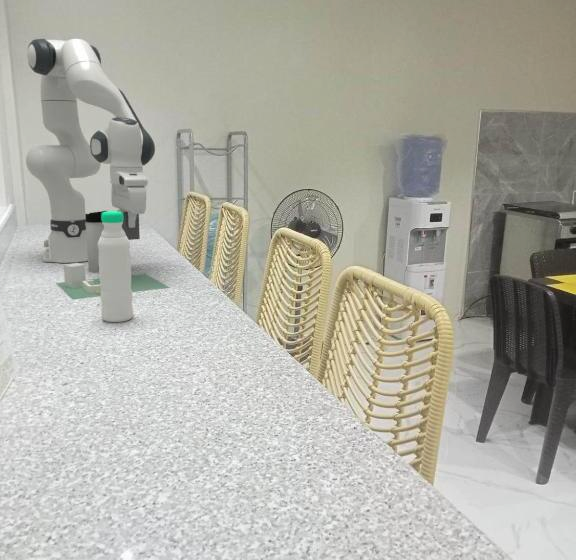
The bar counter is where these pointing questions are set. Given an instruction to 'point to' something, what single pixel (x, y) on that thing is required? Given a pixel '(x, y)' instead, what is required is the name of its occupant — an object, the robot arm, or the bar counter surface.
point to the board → (94, 288)
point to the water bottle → (115, 269)
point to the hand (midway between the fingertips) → (128, 226)
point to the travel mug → (93, 239)
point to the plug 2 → (130, 232)
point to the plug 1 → (74, 275)
